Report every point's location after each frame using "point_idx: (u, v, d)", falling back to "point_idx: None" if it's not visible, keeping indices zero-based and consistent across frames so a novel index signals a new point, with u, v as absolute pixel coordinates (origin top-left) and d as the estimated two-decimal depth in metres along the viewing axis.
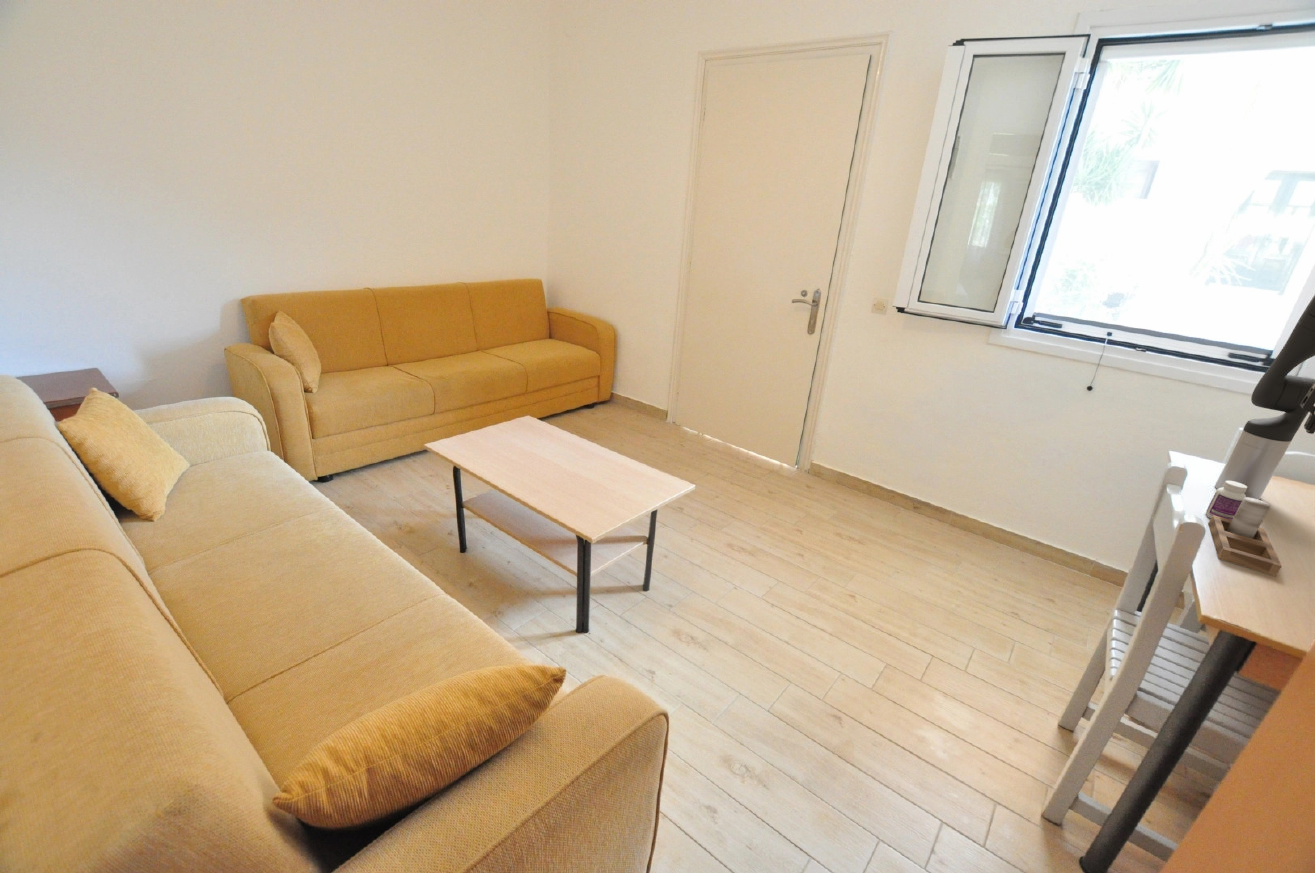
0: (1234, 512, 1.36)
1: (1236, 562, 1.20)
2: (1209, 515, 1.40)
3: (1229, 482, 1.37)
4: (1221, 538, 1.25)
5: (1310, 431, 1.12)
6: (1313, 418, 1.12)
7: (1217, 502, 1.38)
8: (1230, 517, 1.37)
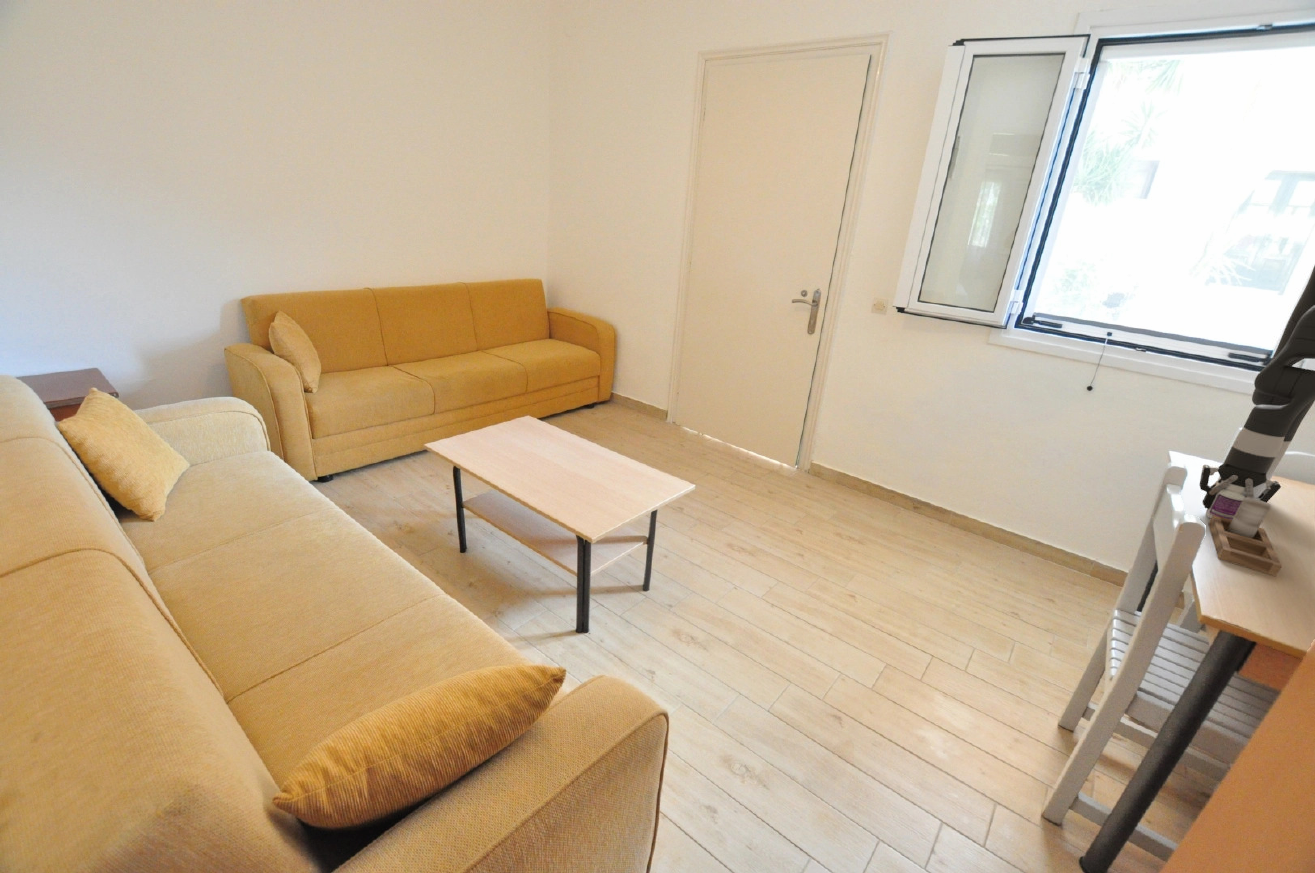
0: (1234, 512, 1.36)
1: (1236, 562, 1.20)
2: (1209, 515, 1.40)
3: None
4: (1221, 538, 1.25)
5: (1206, 506, 1.40)
6: (1208, 496, 1.40)
7: (1217, 502, 1.38)
8: (1230, 517, 1.37)
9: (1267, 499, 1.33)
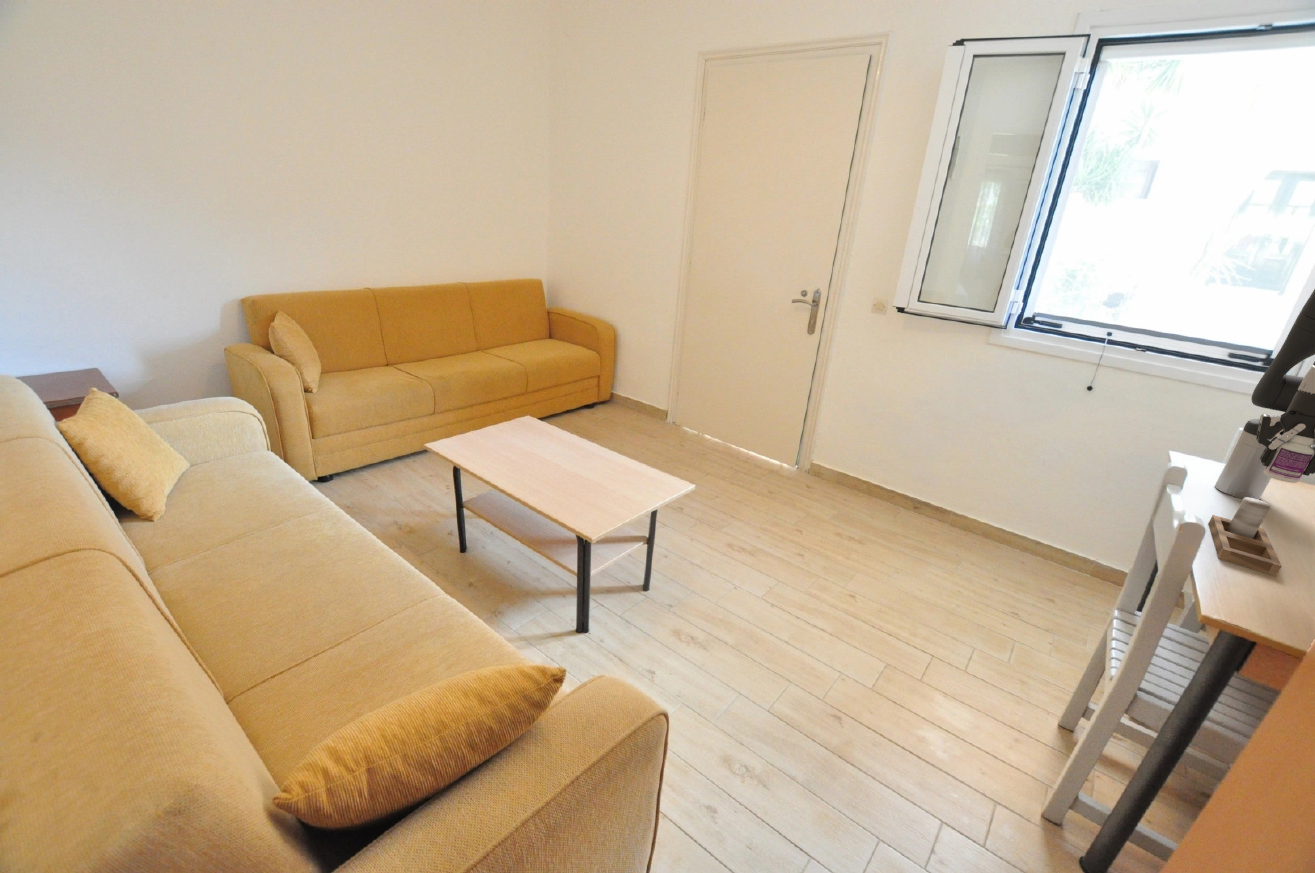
0: (1300, 469, 1.14)
1: (1236, 562, 1.20)
2: (1269, 474, 1.18)
3: None
4: (1221, 538, 1.25)
5: (1265, 464, 1.18)
6: (1268, 451, 1.17)
7: (1278, 457, 1.16)
8: (1295, 475, 1.15)
9: None
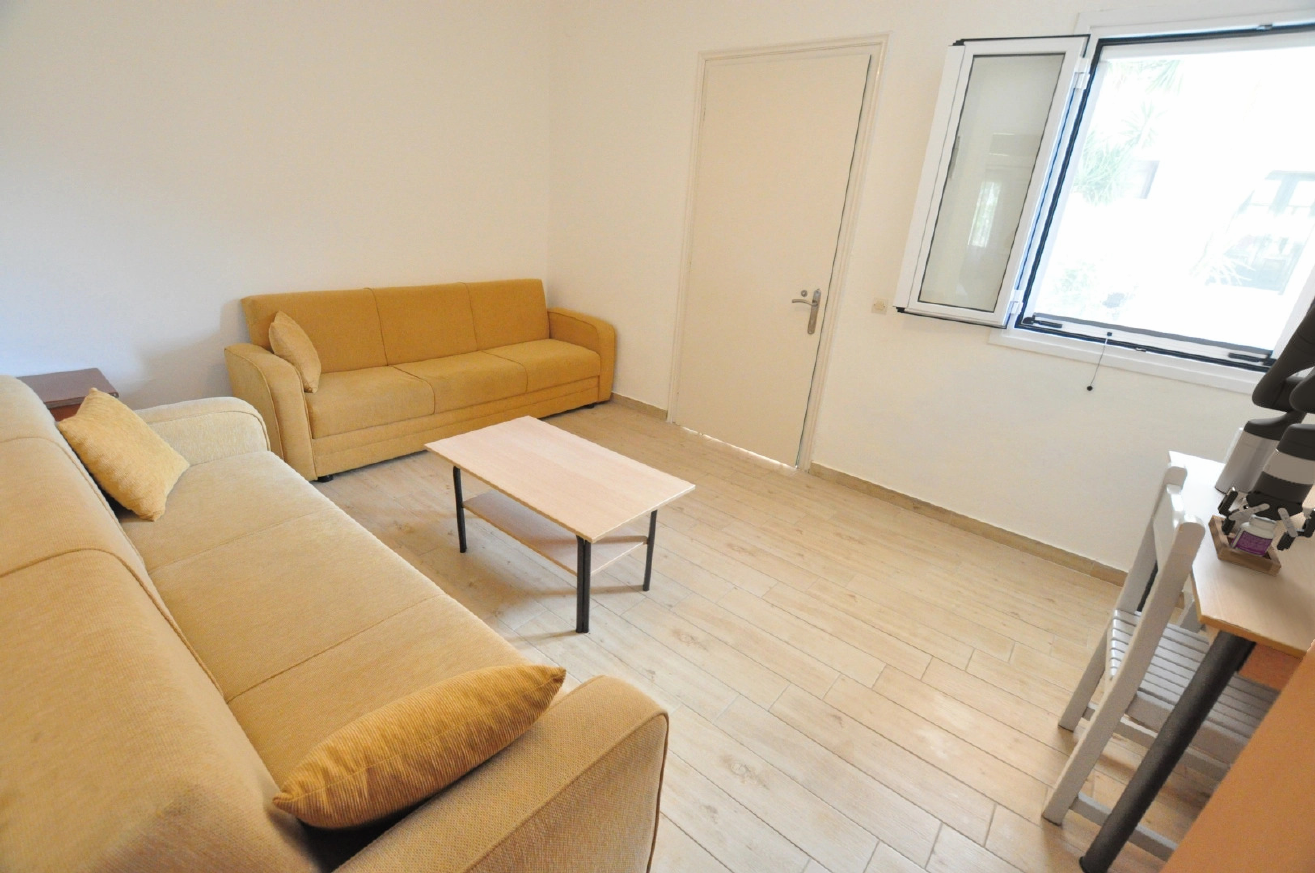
0: (1261, 551, 1.20)
1: (1236, 562, 1.20)
2: None
3: (1256, 517, 1.20)
4: (1221, 538, 1.25)
5: (1225, 533, 1.23)
6: (1228, 522, 1.23)
7: (1241, 539, 1.21)
8: None
9: (1312, 530, 1.15)
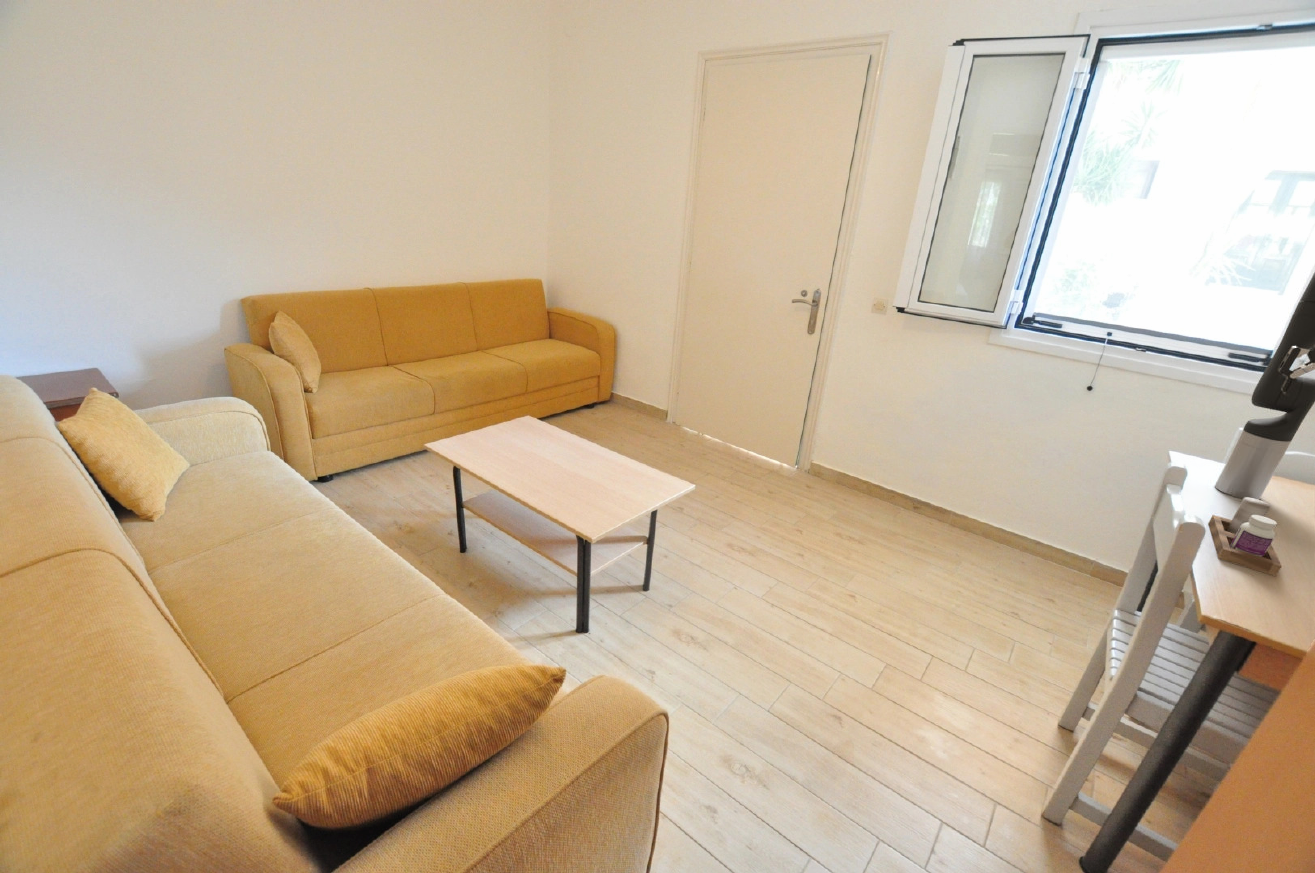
0: (1261, 551, 1.20)
1: (1236, 562, 1.20)
2: None
3: (1256, 517, 1.20)
4: (1221, 538, 1.25)
5: (1286, 393, 1.24)
6: (1289, 381, 1.24)
7: (1241, 539, 1.21)
8: None
9: None
